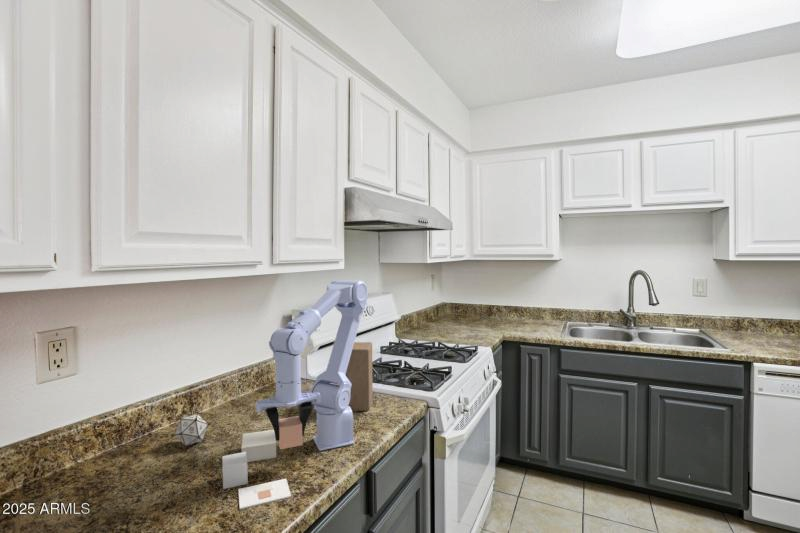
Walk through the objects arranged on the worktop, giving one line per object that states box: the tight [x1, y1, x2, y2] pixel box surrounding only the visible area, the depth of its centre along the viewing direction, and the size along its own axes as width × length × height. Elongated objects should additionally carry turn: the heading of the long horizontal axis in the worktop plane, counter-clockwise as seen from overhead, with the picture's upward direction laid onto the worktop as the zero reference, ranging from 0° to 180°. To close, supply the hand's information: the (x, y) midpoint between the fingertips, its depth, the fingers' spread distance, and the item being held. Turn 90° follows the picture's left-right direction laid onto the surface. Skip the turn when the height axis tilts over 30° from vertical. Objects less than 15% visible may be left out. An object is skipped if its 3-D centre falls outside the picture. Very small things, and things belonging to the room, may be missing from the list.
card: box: [238, 478, 292, 510], centre depth 86 cm, size 10×7×1 cm
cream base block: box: [240, 429, 277, 463], centre depth 104 cm, size 8×8×4 cm
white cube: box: [222, 451, 249, 490], centre depth 91 cm, size 5×5×5 cm
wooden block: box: [337, 341, 374, 412], centre depth 134 cm, size 10×10×20 cm
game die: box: [171, 410, 213, 451], centre depth 108 cm, size 9×8×10 cm
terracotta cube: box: [277, 415, 303, 450], centre depth 96 cm, size 5×5×5 cm
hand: (289, 436), depth 96 cm, fingers closed on terracotta cube, 5 cm apart
